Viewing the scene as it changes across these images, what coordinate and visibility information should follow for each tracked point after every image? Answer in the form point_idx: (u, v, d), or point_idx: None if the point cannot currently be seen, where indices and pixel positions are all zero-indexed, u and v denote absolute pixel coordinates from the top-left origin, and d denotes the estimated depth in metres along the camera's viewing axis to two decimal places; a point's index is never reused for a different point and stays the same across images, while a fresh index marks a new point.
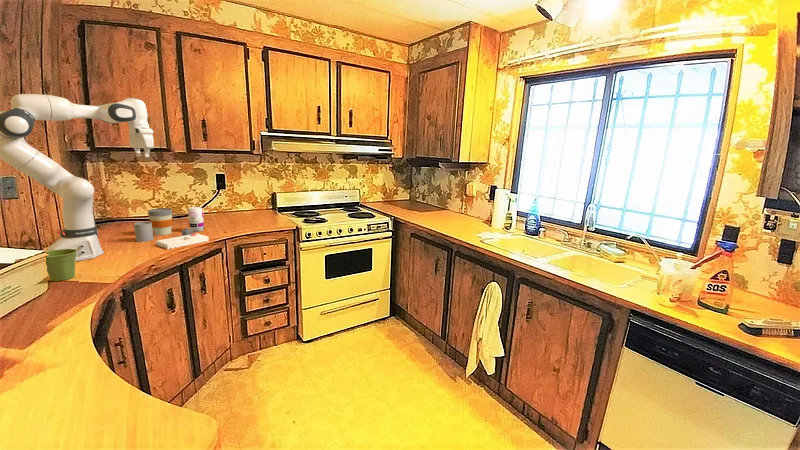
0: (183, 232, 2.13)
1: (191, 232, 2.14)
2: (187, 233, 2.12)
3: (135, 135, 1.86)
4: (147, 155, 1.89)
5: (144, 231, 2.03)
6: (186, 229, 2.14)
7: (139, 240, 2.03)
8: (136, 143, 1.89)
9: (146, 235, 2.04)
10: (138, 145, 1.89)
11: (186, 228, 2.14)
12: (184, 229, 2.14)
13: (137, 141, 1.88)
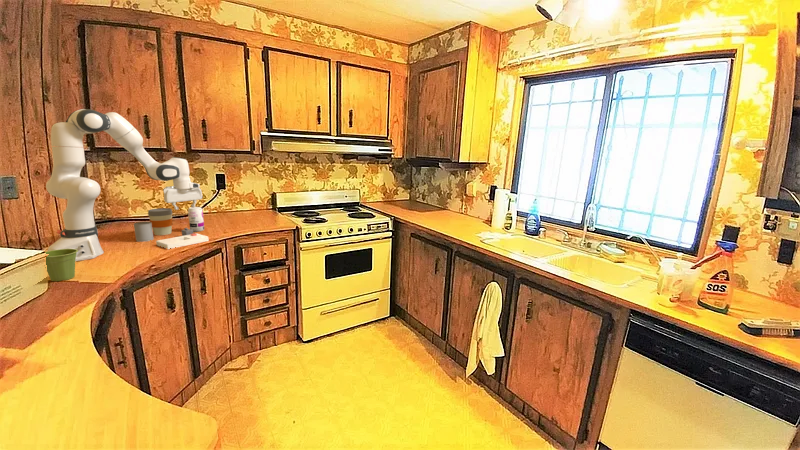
0: (183, 232, 2.13)
1: (191, 232, 2.14)
2: (187, 233, 2.12)
3: (187, 190, 2.08)
4: None
5: (144, 231, 2.03)
6: (186, 229, 2.14)
7: (139, 240, 2.03)
8: (183, 197, 2.08)
9: (146, 235, 2.04)
10: (186, 198, 2.09)
11: (186, 228, 2.14)
12: (184, 229, 2.14)
13: (185, 195, 2.09)
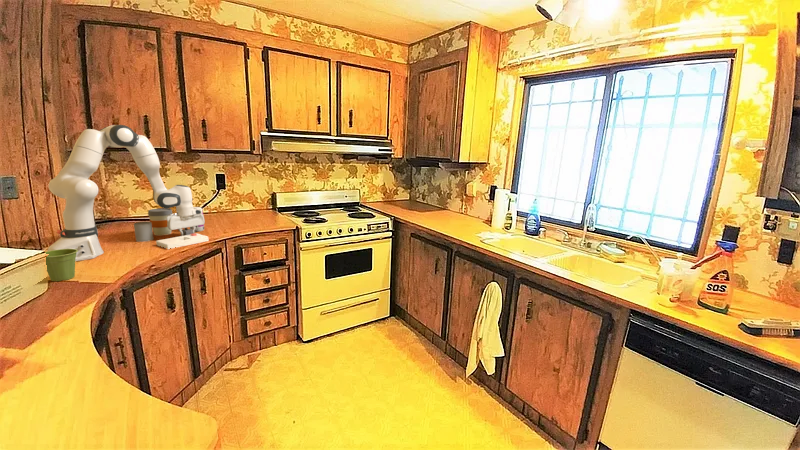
0: None
1: (191, 232, 2.14)
2: (187, 233, 2.12)
3: (190, 216, 2.12)
4: None
5: (144, 231, 2.03)
6: (186, 229, 2.14)
7: (139, 240, 2.03)
8: (186, 223, 2.11)
9: (146, 235, 2.04)
10: (189, 224, 2.13)
11: (186, 228, 2.14)
12: (184, 229, 2.14)
13: (188, 221, 2.12)
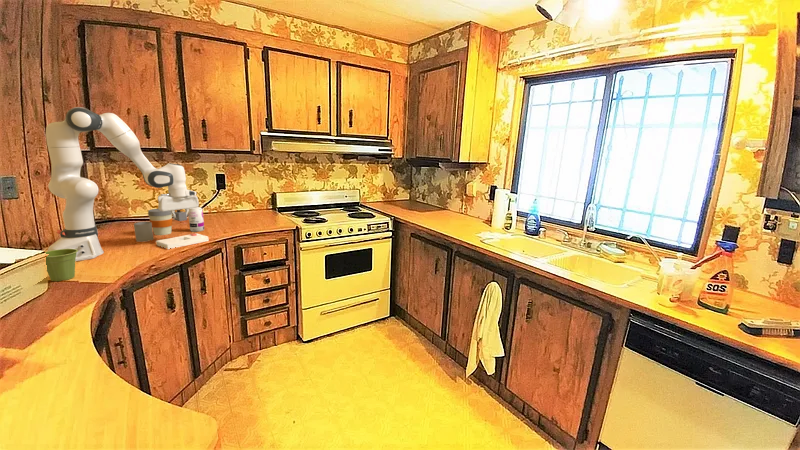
0: None
1: (184, 214, 2.00)
2: (180, 215, 1.98)
3: (183, 197, 1.98)
4: None
5: (144, 231, 2.03)
6: (179, 211, 2.01)
7: (139, 240, 2.03)
8: (179, 205, 1.98)
9: (146, 235, 2.04)
10: (182, 206, 1.99)
11: (179, 210, 2.00)
12: None
13: (181, 203, 1.99)
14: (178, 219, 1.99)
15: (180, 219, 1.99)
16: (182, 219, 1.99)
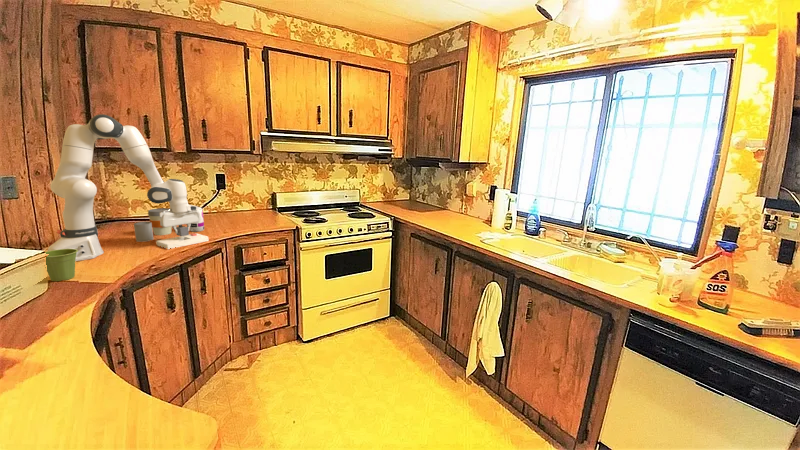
0: (177, 229, 2.00)
1: (186, 229, 2.00)
2: (182, 230, 1.98)
3: (185, 213, 1.99)
4: None
5: (144, 231, 2.03)
6: (180, 226, 2.01)
7: (139, 240, 2.03)
8: (181, 220, 1.98)
9: (146, 235, 2.04)
10: (184, 221, 2.00)
11: (180, 225, 2.01)
12: None
13: (183, 218, 1.99)
14: (180, 234, 1.99)
15: (182, 235, 1.99)
16: (184, 234, 2.00)
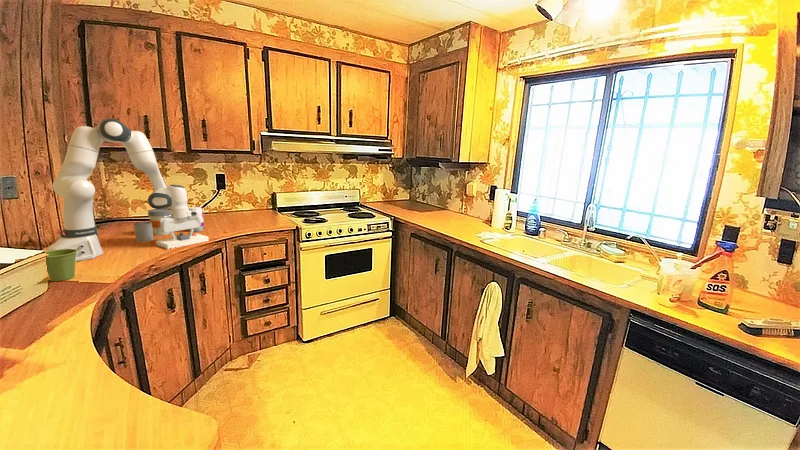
0: (178, 238, 2.01)
1: (186, 238, 2.01)
2: (182, 239, 1.99)
3: (185, 218, 1.99)
4: None
5: (144, 231, 2.03)
6: (181, 234, 2.02)
7: (139, 240, 2.03)
8: (181, 226, 1.99)
9: (146, 235, 2.04)
10: (184, 227, 2.00)
11: (181, 233, 2.02)
12: (179, 234, 2.02)
13: (183, 224, 1.99)
14: None
15: None
16: None
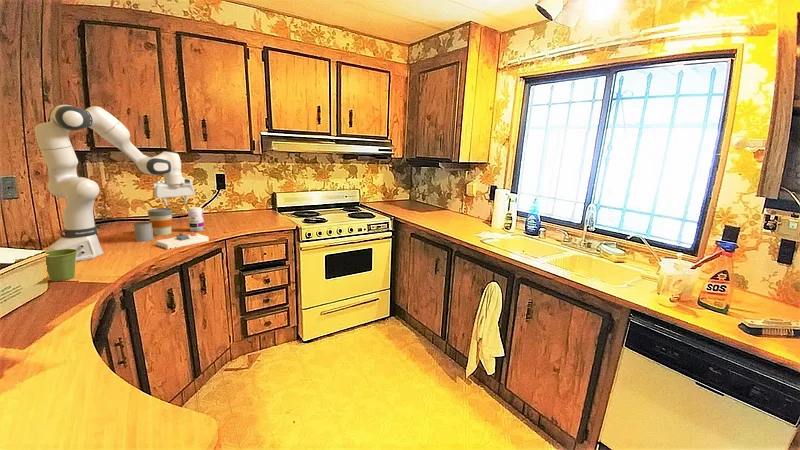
0: (178, 238, 2.01)
1: (186, 238, 2.01)
2: (182, 239, 1.99)
3: (179, 185, 2.02)
4: None
5: (144, 231, 2.03)
6: (181, 234, 2.02)
7: (139, 240, 2.03)
8: (174, 192, 2.01)
9: (146, 235, 2.04)
10: (177, 193, 2.03)
11: (181, 233, 2.02)
12: None
13: (176, 190, 2.02)
14: None
15: None
16: None
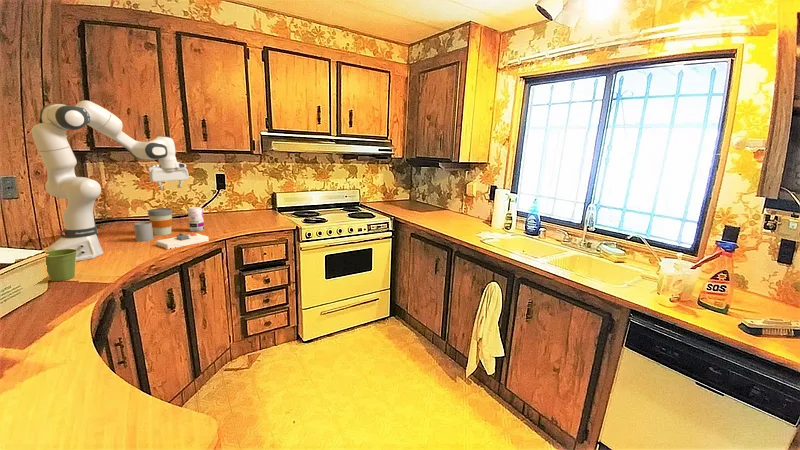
0: (178, 238, 2.01)
1: (186, 238, 2.01)
2: (182, 239, 1.99)
3: (173, 169, 2.08)
4: None
5: (144, 231, 2.03)
6: (181, 234, 2.02)
7: (139, 240, 2.03)
8: (169, 176, 2.07)
9: (146, 235, 2.04)
10: (172, 178, 2.08)
11: (181, 233, 2.02)
12: None
13: (171, 174, 2.08)
14: None
15: None
16: None
